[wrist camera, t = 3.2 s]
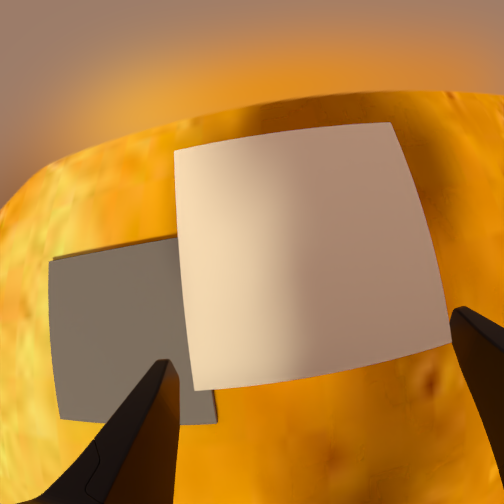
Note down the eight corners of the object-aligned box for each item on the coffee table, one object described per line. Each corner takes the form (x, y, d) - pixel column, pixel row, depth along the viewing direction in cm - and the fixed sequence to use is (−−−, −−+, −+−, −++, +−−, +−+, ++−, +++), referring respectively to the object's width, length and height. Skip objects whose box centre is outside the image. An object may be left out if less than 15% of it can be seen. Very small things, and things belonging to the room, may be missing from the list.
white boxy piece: (354, 341, 18) (451, 342, 7) (246, 359, 19) (194, 390, 7) (335, 238, 20) (390, 122, 9) (232, 254, 21) (174, 150, 9)
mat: (217, 422, 18) (216, 423, 17) (63, 418, 18) (60, 418, 18) (194, 236, 21) (193, 234, 21) (52, 262, 22) (48, 261, 21)
